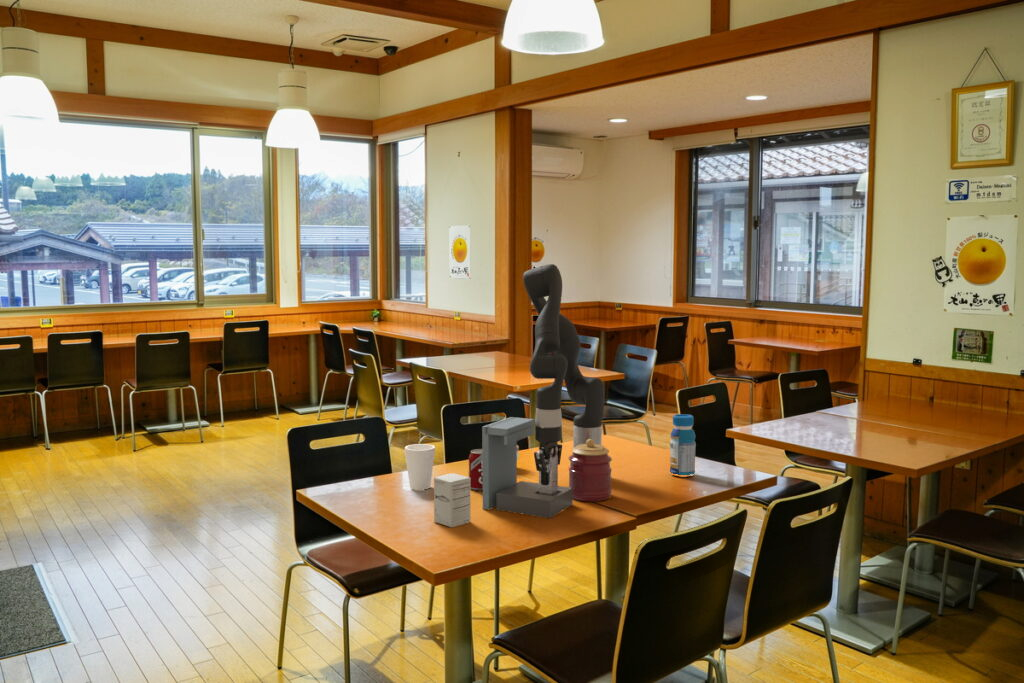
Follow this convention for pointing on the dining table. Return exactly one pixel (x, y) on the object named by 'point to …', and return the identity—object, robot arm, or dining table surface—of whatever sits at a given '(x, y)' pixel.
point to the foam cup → (420, 465)
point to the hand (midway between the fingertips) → (548, 482)
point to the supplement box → (452, 499)
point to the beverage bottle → (682, 445)
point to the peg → (550, 479)
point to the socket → (533, 500)
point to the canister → (590, 472)
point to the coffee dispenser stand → (501, 455)
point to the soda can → (476, 469)
